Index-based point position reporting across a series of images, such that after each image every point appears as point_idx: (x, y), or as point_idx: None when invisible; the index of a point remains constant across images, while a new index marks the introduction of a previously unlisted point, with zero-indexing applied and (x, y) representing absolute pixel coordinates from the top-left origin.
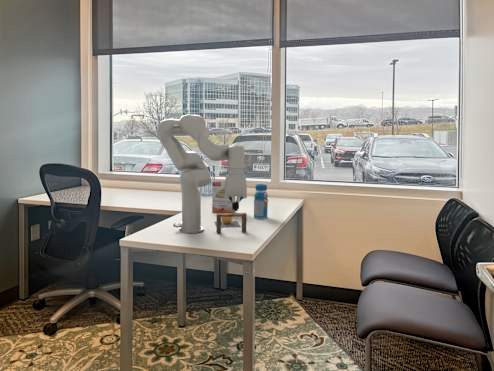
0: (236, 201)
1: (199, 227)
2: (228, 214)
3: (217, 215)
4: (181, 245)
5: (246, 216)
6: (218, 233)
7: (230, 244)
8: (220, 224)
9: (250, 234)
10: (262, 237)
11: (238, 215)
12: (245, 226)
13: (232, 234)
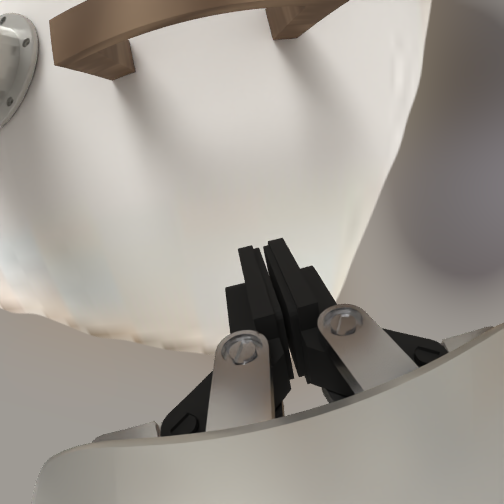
0: (311, 383)
1: (10, 74)
2: (161, 19)
3: (60, 64)
4: (36, 308)
5: (339, 6)
6: (120, 76)
7: (219, 275)
8: (113, 64)
9: (322, 75)
10: (380, 138)
11: (268, 4)
12: (303, 28)
13: (210, 79)
